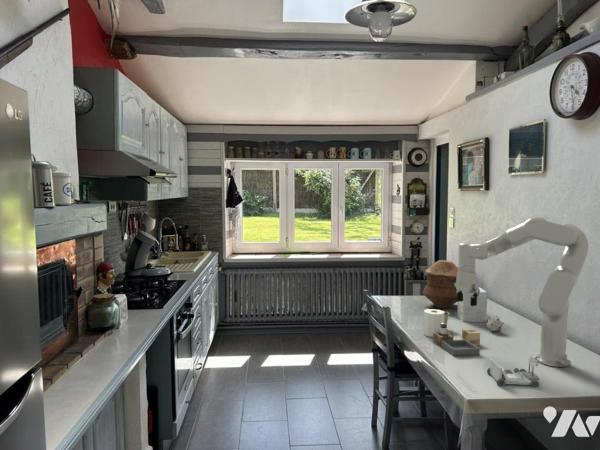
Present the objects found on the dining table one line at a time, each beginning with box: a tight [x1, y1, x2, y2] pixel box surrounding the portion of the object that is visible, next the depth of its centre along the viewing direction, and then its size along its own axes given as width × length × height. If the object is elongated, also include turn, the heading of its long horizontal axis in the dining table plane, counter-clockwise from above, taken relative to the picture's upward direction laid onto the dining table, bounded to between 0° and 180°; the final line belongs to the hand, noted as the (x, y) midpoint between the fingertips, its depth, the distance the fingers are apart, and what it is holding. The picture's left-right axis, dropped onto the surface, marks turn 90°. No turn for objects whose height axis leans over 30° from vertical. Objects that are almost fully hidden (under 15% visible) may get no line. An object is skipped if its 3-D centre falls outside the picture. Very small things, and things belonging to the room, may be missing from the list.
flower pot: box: [443, 310, 451, 324], centre depth 237 cm, size 9×9×9 cm
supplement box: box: [456, 286, 488, 323], centre depth 256 cm, size 13×13×18 cm
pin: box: [440, 322, 448, 336], centre depth 213 cm, size 3×3×10 cm
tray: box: [440, 339, 481, 357], centre depth 203 cm, size 12×12×3 cm
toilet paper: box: [423, 308, 444, 338], centre depth 227 cm, size 10×10×12 cm
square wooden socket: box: [432, 332, 454, 347], centre depth 213 cm, size 7×7×4 cm
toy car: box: [486, 355, 541, 388], centre depth 171 cm, size 18×10×12 cm
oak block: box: [461, 328, 481, 346], centre depth 214 cm, size 6×6×6 cm
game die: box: [484, 315, 504, 333], centre depth 233 cm, size 9×8×10 cm
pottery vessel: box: [422, 259, 459, 309], centre depth 284 cm, size 26×26×30 cm
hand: (466, 303), depth 213 cm, fingers open, 9 cm apart
